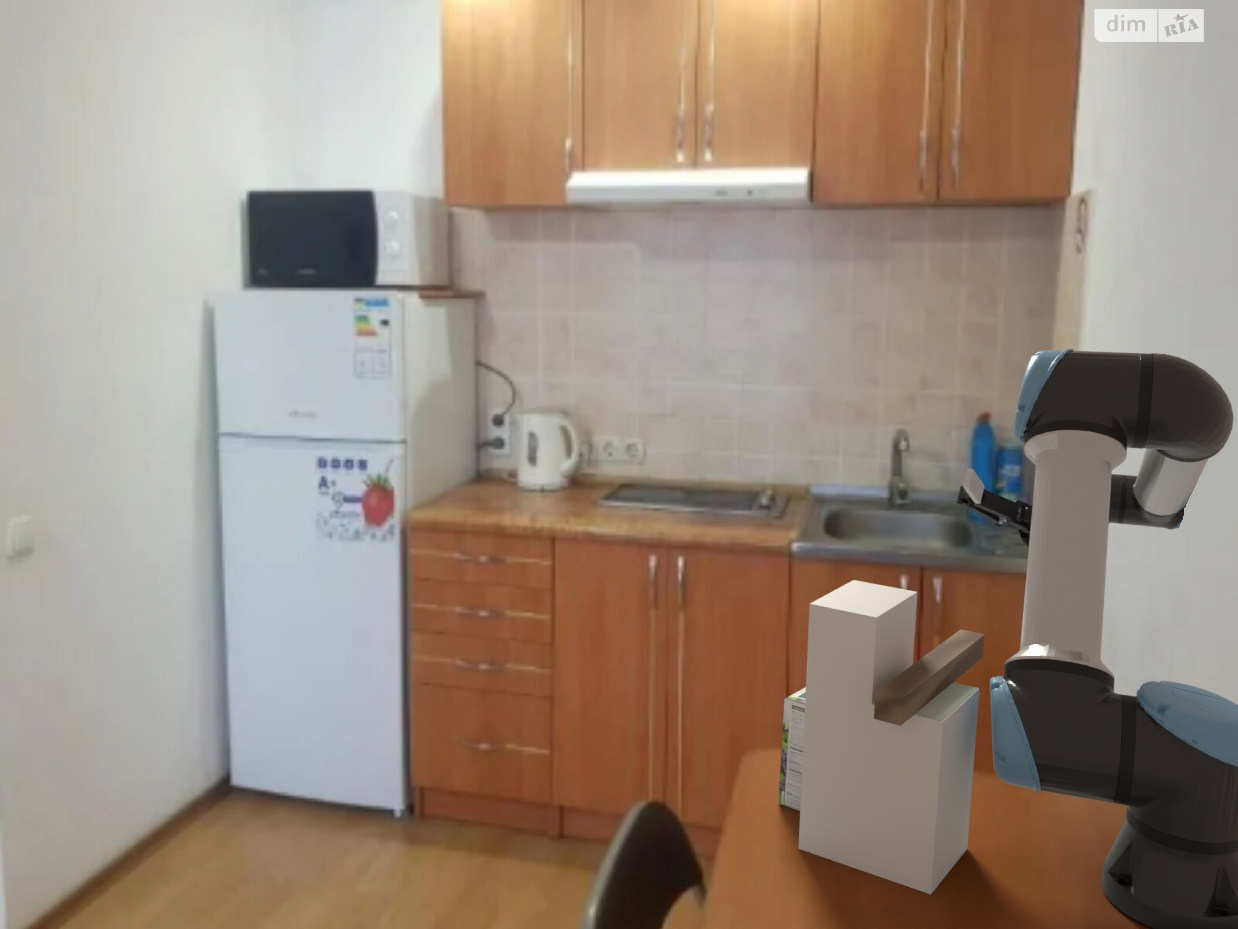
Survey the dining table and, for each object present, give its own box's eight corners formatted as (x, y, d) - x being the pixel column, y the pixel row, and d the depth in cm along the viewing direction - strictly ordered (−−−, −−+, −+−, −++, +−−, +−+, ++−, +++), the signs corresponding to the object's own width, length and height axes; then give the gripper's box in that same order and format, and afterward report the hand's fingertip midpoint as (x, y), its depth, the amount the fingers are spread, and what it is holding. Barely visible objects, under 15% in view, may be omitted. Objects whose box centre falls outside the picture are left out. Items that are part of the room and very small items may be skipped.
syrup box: (800, 788, 146) (805, 683, 144) (840, 802, 143) (846, 695, 140) (777, 804, 142) (782, 696, 139) (818, 819, 138) (824, 708, 136)
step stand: (967, 849, 132) (985, 604, 126) (930, 894, 122) (949, 632, 116) (841, 809, 141) (853, 580, 135) (798, 848, 131) (809, 603, 126)
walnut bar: (982, 657, 138) (984, 634, 137) (900, 726, 117) (902, 699, 116) (959, 652, 139) (960, 629, 139) (873, 718, 119) (875, 692, 118)
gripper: (1138, 575, 155) (1115, 524, 138) (960, 546, 169) (920, 497, 152) (1148, 524, 156) (1126, 468, 140) (971, 500, 171) (933, 447, 154)
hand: (1019, 483), depth 146 cm, fingers open, 13 cm apart
